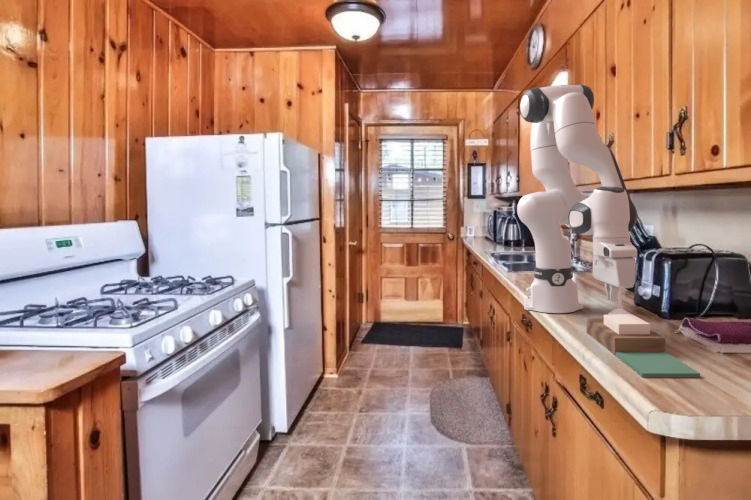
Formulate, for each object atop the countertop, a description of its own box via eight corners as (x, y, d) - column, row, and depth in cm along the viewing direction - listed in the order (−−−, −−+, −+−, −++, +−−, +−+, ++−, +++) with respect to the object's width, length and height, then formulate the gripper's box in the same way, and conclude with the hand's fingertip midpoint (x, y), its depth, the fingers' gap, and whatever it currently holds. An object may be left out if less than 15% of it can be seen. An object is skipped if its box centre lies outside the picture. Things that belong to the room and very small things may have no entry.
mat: (615, 355, 112) (615, 352, 112) (665, 355, 110) (666, 352, 110) (642, 377, 98) (642, 373, 98) (700, 377, 97) (700, 373, 96)
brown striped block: (586, 332, 132) (586, 317, 131) (628, 331, 131) (629, 317, 130) (614, 354, 112) (614, 338, 112) (664, 354, 111) (665, 337, 110)
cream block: (603, 324, 124) (603, 314, 124) (632, 323, 124) (632, 314, 123) (618, 334, 114) (618, 324, 114) (650, 334, 114) (650, 323, 113)
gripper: (586, 246, 137) (587, 294, 138) (613, 251, 117) (614, 307, 118) (609, 245, 137) (610, 293, 138) (640, 250, 116) (641, 307, 117)
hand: (612, 300), depth 128 cm, fingers closed
